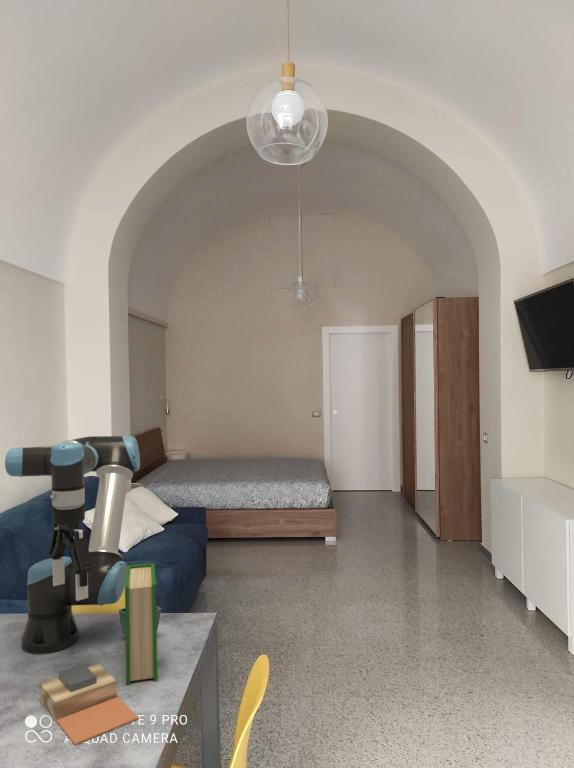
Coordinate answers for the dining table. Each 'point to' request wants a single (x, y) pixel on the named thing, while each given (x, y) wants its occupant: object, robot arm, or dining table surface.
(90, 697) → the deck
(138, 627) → the hardback book
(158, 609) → the flower pot
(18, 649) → the dining table surface
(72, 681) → the gray flat block
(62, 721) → the mat
